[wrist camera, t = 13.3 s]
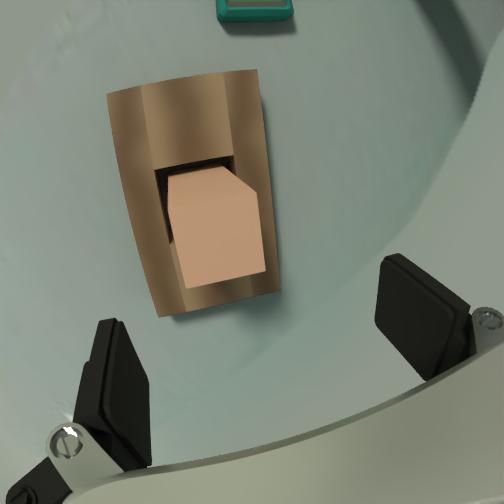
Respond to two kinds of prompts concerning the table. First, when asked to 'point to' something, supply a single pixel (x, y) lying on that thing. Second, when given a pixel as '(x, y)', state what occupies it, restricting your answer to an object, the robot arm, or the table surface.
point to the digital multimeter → (253, 10)
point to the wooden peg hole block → (185, 151)
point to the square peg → (214, 225)
